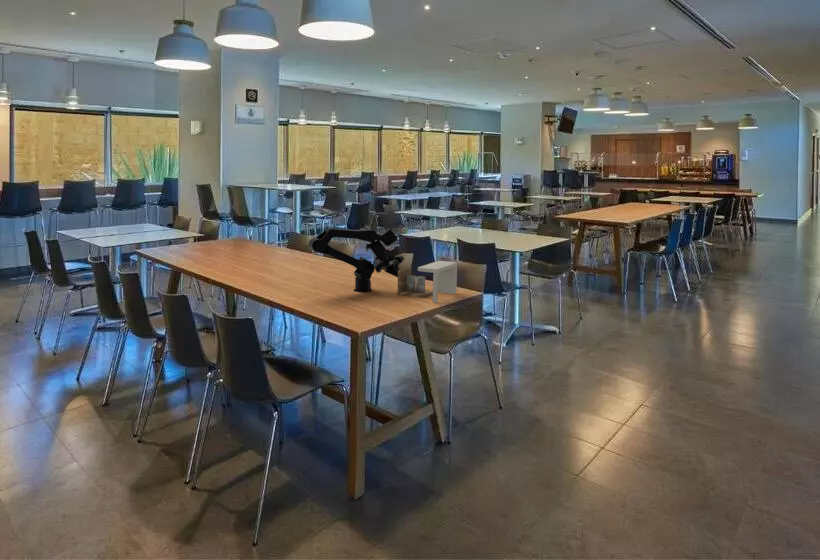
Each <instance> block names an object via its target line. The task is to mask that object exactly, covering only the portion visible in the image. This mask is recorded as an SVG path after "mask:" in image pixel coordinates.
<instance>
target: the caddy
mask: <svg viewBox="0 0 820 560" xmlns="http://www.w3.org/2000/svg"><path fill="white" fill-rule="evenodd" d="M397 295H398V296H405V297H413V298H421V299H424V298H427V297H429V296H431V295H432V296H433V290H428V289H427V290H426V276H422V275H420V276H418V275H417V276H416V275H414V274H413V275H412V267H406V268H403V269H399V271H398V278H397Z"/></svg>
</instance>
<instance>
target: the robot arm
mask: <svg viewBox="0 0 820 560" xmlns="http://www.w3.org/2000/svg"><path fill="white" fill-rule="evenodd" d="M333 238H341V239H357V240H361V241H364V242H367V243H366V244H365V251H366V252H368V251H369V250H370V251H371V252H372V254H373V255H374V256H375V260H376V261H379V263H378V264H377V265H376V266H375V265H374V264H373V263H372V261H370V260H369V259H366V258H364V257H362V256H359V258H355V257H354V256H351V255H349V254H347V253H344V252H342V251H341V250H338V249H335V248H334V247H332V246H331V245H329V243H330V242H331V240H333ZM397 241H398V236H397V235H396V234H395V232H394V231H392V229H390V228H388V229H386V230H385V231H384V232H383V233H381V234H380V233H378V232H377V231H376V230H374V229H371V228H361V229H345V228H343V229H342V228H333V227H328V228H326V229H325V230H323V231H322V232H320V233H319V234H318V235H317V236H316V237H313V238H311V239H309V242H308V247H309V249H310V250H311V251H313V252H316V253H320V254H323V255H327V256H329V257H330V256H331V258H332V257H333V258H335V259H337V260H340V261H342V262H344V263H346V264H348V265H350V266H352V267H354V268H355V270H354V271H353V274H354V276H355V280H354V282H355V284H354V285H355V287H354V289H353V291H354V292H360V293H365V292H366V293H367V292H369V291H370V292H371V291H372V290H373V288H372V281H371V278H372V274H374V272H376V274H379V273H381V272H382V269H383V268H385V270H384V273H387V274H389V275H392V276H393V277H396V278H397V279H398V271H399V270H400V267H399V266H400V264H402V263H403V262H404V261H405V258H404V256H403V255H402V254H403V252H402V251H403V249H402V248H401V246H399V245H398V246H395V247H394V248H393V249H391V250H390V249H386V247H387V248H389V247H390V246H392V245H393V244H394V243H396V242H397Z"/></svg>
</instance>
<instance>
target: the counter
mask: <svg viewBox="0 0 820 560" xmlns="http://www.w3.org/2000/svg"><path fill="white" fill-rule="evenodd" d="M417 271H418V272H425V273H433V274H432V275H433V276H432V277H433V278H432V279H433V280H432V287H433V288H432V291H433V294H432V304H433V303H435V304H437V303H438V299H439V297H438V293H443V294H448V295H449V294H450V295H457V287H458V286H457V284H458V283H457V282H458V281H457V280H458V276H457V275H458V262H455V261H446V260H438V261H433V262H430V263H427V264H424V265H420V266H418V267H417Z"/></svg>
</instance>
